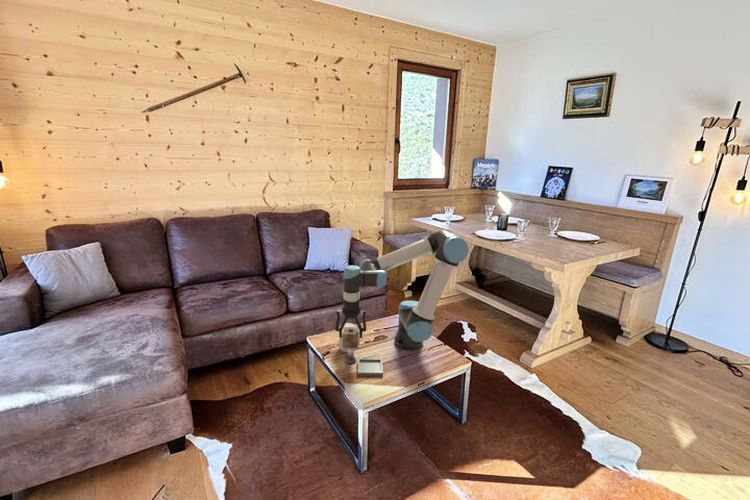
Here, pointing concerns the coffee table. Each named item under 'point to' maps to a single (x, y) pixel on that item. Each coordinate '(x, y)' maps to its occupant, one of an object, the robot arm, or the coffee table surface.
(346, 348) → the cup
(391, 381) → the coffee table surface
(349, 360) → the post
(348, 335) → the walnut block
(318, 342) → the coffee table surface
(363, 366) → the tray
